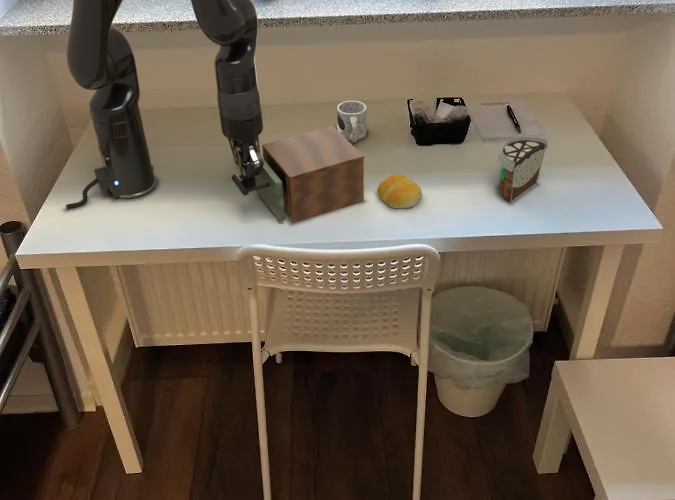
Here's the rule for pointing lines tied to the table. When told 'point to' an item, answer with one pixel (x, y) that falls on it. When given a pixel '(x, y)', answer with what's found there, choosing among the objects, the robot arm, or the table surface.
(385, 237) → the table surface
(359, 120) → the mug
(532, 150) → the food container
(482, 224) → the table surface
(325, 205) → the cabinet
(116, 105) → the robot arm
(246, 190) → the drawer
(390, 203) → the bread roll
